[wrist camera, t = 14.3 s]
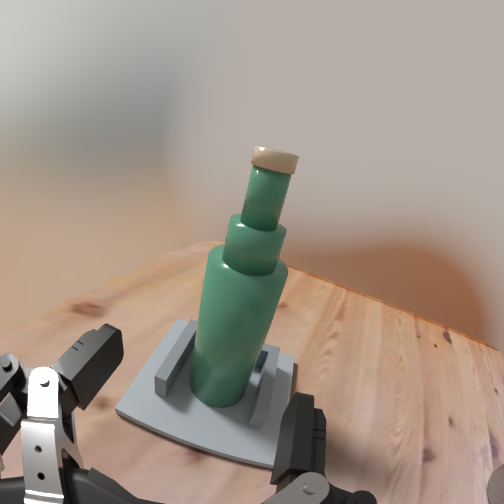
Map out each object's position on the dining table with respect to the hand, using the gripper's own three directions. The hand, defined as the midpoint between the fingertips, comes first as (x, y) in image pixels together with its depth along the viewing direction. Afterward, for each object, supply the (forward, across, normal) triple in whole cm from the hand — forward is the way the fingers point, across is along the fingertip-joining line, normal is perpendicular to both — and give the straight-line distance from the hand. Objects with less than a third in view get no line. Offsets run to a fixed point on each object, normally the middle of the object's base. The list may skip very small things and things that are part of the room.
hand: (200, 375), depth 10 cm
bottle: (+11, 0, +14) cm, 18 cm away
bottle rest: (+11, 0, +15) cm, 19 cm away
